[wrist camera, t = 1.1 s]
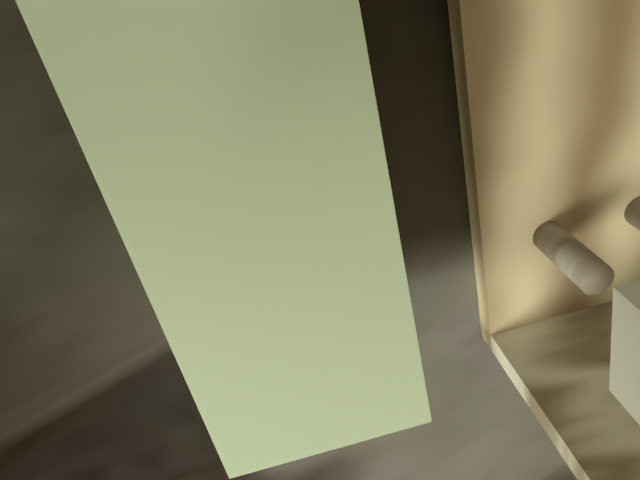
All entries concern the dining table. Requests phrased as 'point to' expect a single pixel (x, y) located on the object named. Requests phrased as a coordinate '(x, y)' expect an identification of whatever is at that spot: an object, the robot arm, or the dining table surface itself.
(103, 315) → the dining table surface
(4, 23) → the dining table surface
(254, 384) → the shelf board
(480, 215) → the shelf stand
